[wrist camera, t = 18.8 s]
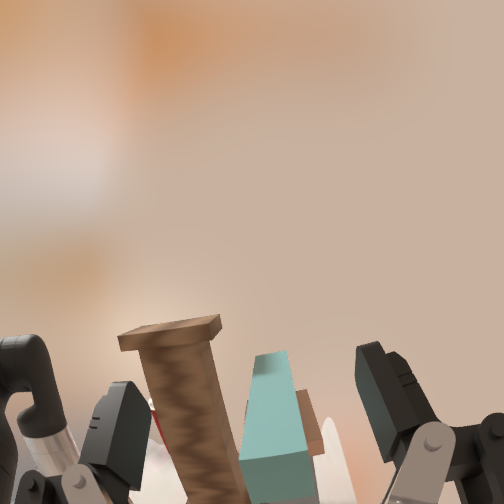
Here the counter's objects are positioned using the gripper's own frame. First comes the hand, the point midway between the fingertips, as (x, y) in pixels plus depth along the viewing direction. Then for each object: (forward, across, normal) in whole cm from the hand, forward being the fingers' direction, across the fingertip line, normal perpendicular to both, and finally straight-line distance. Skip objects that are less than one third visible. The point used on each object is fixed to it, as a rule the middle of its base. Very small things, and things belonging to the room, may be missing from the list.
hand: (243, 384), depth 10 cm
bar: (+9, 0, +18) cm, 20 cm away
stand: (+8, +12, +43) cm, 45 cm away
